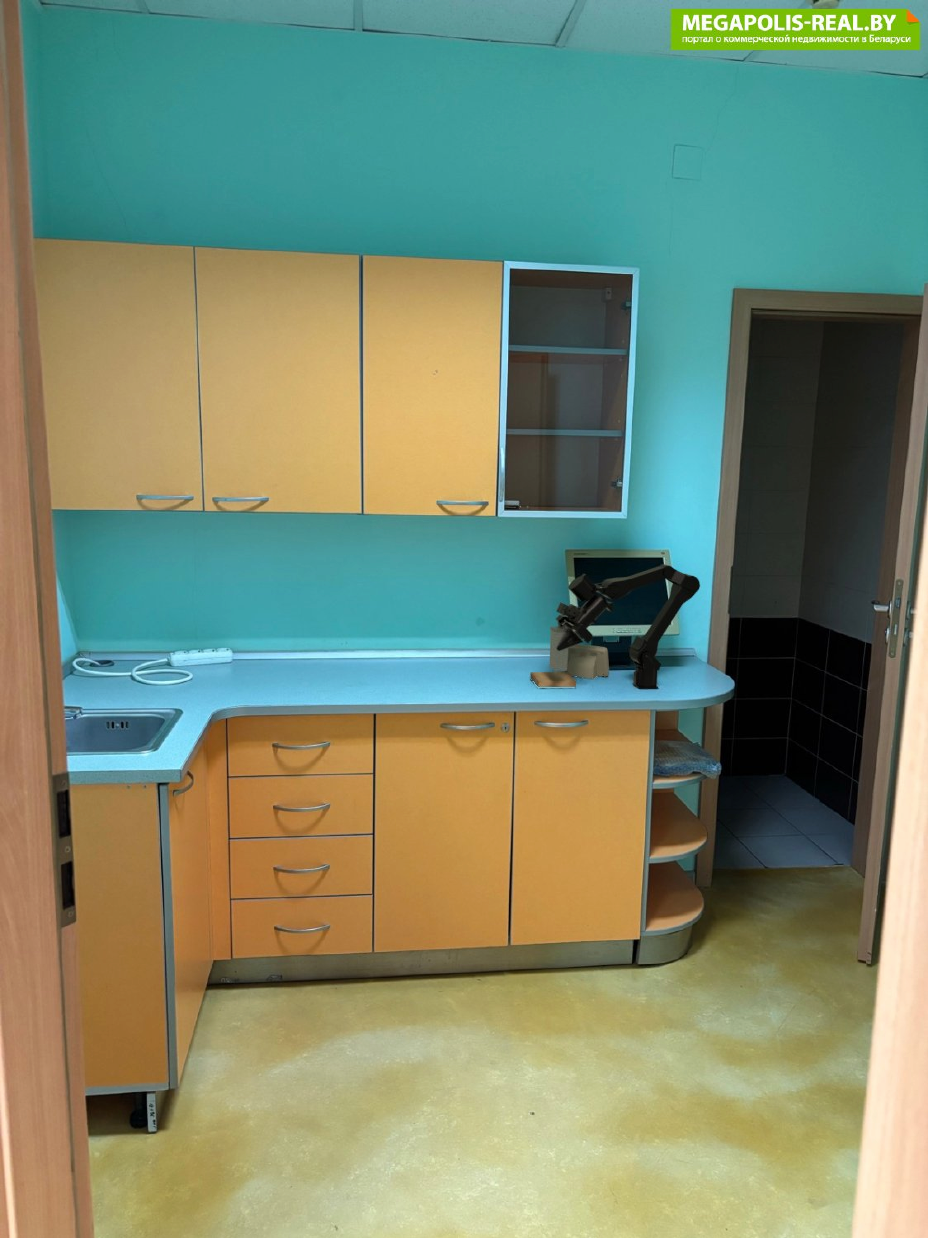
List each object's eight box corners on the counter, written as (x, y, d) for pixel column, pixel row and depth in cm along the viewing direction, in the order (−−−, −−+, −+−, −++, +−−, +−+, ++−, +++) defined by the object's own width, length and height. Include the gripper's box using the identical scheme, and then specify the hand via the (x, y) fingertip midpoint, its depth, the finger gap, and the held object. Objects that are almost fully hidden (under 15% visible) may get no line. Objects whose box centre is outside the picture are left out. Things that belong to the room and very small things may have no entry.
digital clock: (611, 677, 308) (613, 645, 306) (598, 682, 301) (599, 650, 299) (569, 669, 318) (570, 638, 316) (555, 674, 311) (556, 642, 309)
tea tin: (561, 666, 291) (563, 626, 289) (567, 670, 286) (569, 629, 284) (549, 667, 290) (550, 626, 288) (554, 671, 285) (556, 629, 283)
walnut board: (566, 679, 304) (566, 671, 303) (575, 688, 292) (576, 680, 292) (530, 679, 302) (530, 672, 302) (538, 689, 290) (538, 681, 290)
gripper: (562, 589, 294) (528, 624, 293) (584, 598, 276) (547, 636, 275) (585, 613, 297) (551, 648, 296) (608, 624, 279) (571, 661, 279)
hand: (554, 648), depth 287 cm, fingers closed on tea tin, 5 cm apart
